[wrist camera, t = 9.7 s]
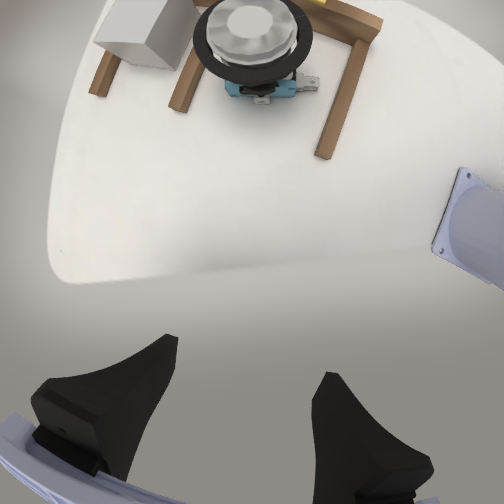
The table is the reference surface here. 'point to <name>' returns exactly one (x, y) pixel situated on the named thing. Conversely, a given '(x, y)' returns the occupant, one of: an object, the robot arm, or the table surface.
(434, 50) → the table surface
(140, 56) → the grey plug block
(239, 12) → the push button
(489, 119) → the table surface
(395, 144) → the table surface
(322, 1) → the wooden bench frame
